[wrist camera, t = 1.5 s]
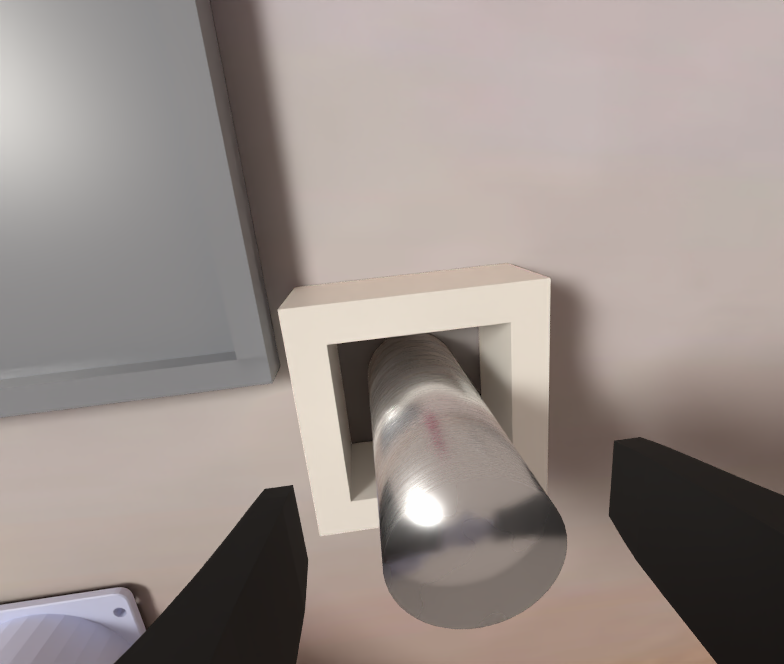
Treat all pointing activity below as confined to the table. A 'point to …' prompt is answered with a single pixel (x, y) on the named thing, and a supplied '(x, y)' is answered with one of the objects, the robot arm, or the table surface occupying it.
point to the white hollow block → (405, 317)
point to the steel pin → (454, 494)
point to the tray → (122, 210)
